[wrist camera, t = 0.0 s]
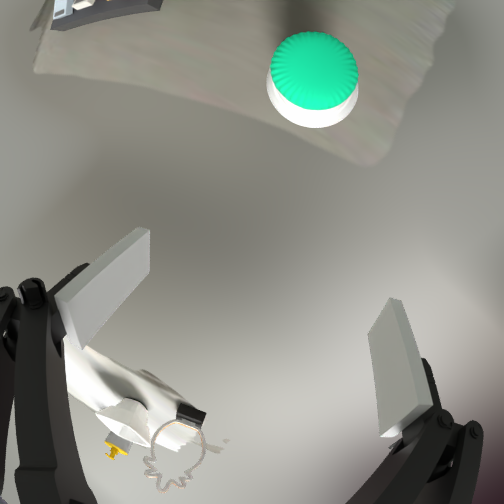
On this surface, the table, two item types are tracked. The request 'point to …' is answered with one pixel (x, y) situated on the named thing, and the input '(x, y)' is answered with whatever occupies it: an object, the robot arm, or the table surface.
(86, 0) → the rocker white
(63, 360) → the robot arm
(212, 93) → the table surface
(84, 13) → the power strip
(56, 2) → the rocker blue
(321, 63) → the water bottle
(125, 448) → the soap bottle
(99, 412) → the bowl
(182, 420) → the lamp
